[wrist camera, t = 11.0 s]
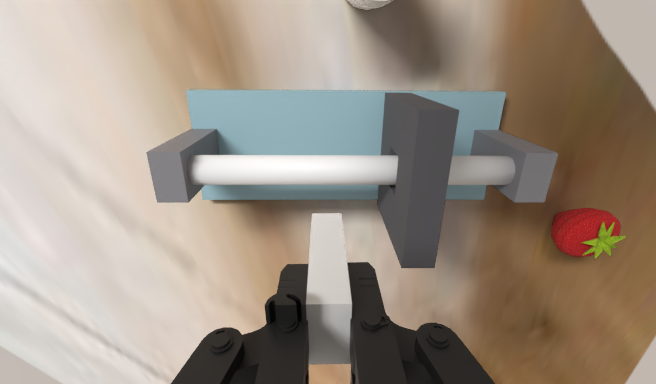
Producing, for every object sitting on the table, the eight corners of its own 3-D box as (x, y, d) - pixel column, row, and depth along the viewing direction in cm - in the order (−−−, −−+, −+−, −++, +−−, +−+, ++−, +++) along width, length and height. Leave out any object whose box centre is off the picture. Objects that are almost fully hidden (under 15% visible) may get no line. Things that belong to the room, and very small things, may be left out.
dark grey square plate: (377, 204, 42) (401, 267, 29) (385, 92, 37) (419, 109, 24) (399, 204, 42) (434, 267, 29) (411, 92, 37) (459, 110, 24)
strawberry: (525, 210, 46) (577, 248, 37) (578, 185, 45) (645, 217, 36) (537, 241, 48) (589, 284, 39) (588, 218, 47) (654, 256, 37)
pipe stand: (206, 195, 44) (165, 242, 33) (190, 89, 39) (135, 101, 28) (479, 195, 45) (533, 241, 33) (499, 91, 40) (572, 103, 28)
